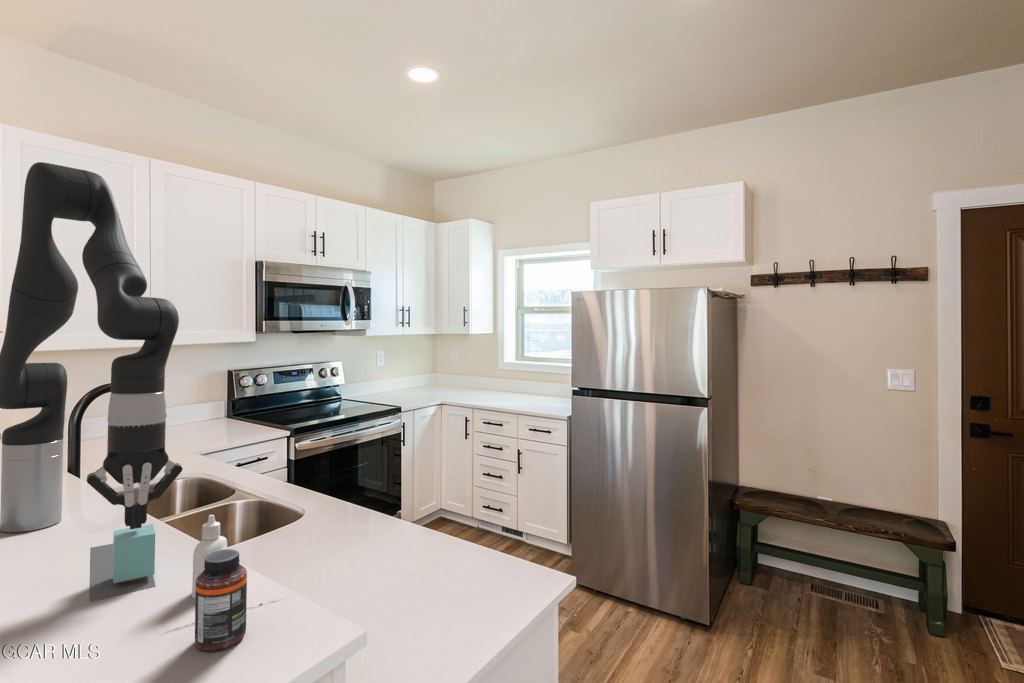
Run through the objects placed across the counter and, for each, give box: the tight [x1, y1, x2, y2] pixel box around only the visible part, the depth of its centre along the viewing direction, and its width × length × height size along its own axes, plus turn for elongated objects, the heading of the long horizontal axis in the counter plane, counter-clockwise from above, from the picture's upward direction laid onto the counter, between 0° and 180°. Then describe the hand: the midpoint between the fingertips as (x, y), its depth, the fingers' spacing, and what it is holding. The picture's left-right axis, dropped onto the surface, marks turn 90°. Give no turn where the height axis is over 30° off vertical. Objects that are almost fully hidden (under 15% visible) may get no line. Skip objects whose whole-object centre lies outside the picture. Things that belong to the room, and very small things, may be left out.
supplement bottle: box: [194, 548, 248, 652], centre depth 67 cm, size 6×6×11 cm
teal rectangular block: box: [112, 523, 156, 584], centre depth 82 cm, size 5×5×7 cm
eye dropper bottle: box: [191, 514, 228, 599], centre depth 80 cm, size 4×6×12 cm
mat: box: [89, 543, 157, 603], centre depth 87 cm, size 24×8×1 cm, turn 39°
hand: (135, 527), depth 82 cm, fingers closed
